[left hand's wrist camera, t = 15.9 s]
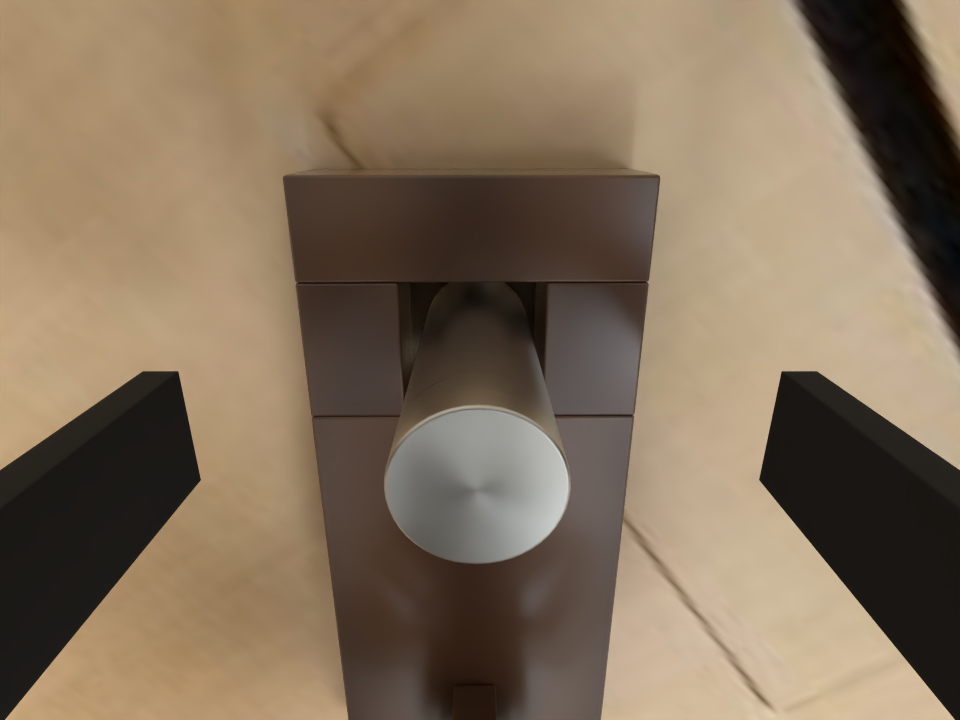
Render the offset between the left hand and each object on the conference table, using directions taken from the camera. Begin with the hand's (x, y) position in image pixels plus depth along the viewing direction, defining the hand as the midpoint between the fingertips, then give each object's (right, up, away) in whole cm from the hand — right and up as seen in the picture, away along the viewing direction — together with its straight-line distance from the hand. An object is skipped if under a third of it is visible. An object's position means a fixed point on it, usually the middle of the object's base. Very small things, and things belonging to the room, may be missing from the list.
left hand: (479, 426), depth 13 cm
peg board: (0, -4, +10) cm, 10 cm away
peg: (0, +3, +7) cm, 8 cm away
